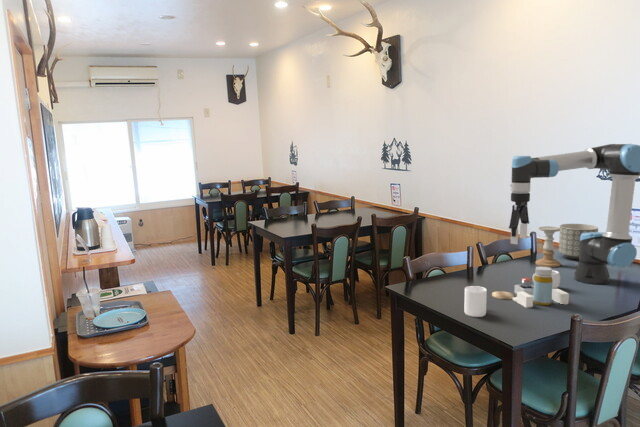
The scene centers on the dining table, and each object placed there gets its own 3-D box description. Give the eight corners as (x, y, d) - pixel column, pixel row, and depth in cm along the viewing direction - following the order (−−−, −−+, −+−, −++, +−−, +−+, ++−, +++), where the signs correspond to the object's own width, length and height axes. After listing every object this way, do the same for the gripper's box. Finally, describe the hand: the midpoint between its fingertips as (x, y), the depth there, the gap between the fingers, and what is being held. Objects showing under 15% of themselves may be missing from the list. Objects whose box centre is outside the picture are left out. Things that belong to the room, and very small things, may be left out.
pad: (506, 292, 220) (507, 290, 220) (517, 298, 211) (518, 296, 211) (488, 293, 219) (488, 292, 218) (498, 300, 210) (498, 298, 210)
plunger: (527, 287, 218) (528, 277, 218) (533, 289, 214) (533, 279, 214) (519, 287, 218) (519, 277, 217) (524, 290, 214) (524, 280, 213)
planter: (564, 262, 269) (566, 229, 266) (554, 253, 287) (555, 223, 285) (601, 262, 266) (603, 229, 263) (588, 254, 284) (590, 223, 282)
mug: (562, 287, 224) (563, 271, 223) (556, 292, 218) (557, 275, 217) (535, 283, 233) (536, 267, 231) (528, 287, 226) (529, 270, 225)
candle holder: (564, 267, 258) (566, 229, 255) (541, 267, 258) (542, 230, 255) (554, 261, 270) (555, 225, 267) (531, 262, 270) (533, 226, 267)
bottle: (553, 306, 201) (555, 270, 198) (535, 305, 202) (536, 270, 200) (549, 300, 207) (550, 266, 205) (531, 300, 209) (532, 265, 207)
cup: (460, 314, 195) (461, 289, 193) (473, 306, 203) (474, 282, 202) (480, 318, 189) (481, 293, 188) (493, 310, 198) (493, 286, 196)
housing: (541, 290, 221) (541, 280, 221) (568, 304, 203) (568, 293, 202) (501, 293, 218) (502, 283, 218) (525, 307, 200) (526, 297, 199)
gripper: (519, 189, 221) (518, 235, 224) (502, 194, 201) (500, 245, 204) (537, 189, 216) (535, 236, 219) (521, 195, 197) (519, 247, 200)
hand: (518, 241), depth 212 cm, fingers open, 13 cm apart
